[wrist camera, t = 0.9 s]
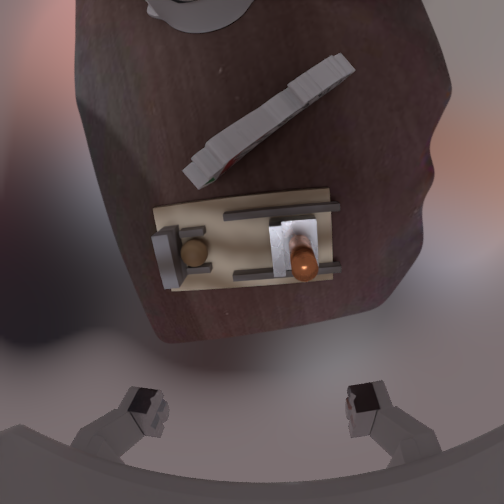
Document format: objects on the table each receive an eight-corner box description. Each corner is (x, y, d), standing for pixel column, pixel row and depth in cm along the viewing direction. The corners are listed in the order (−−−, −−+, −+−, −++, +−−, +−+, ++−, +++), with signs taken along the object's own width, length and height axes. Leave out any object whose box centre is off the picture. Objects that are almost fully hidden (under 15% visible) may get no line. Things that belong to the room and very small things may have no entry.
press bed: (155, 206, 42) (138, 216, 37) (334, 186, 39) (344, 193, 34) (173, 287, 47) (161, 306, 42) (337, 275, 44) (345, 294, 38)
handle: (269, 218, 40) (267, 242, 31) (314, 214, 40) (326, 237, 30) (274, 264, 43) (273, 299, 33) (316, 260, 42) (327, 295, 32)
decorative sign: (322, 75, 36) (355, 37, 21) (334, 88, 36) (372, 56, 22) (200, 169, 40) (173, 172, 26) (212, 182, 41) (191, 193, 26)
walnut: (182, 237, 43) (174, 246, 39) (208, 234, 42) (201, 243, 38) (187, 261, 44) (180, 272, 40) (212, 259, 44) (206, 270, 40)
